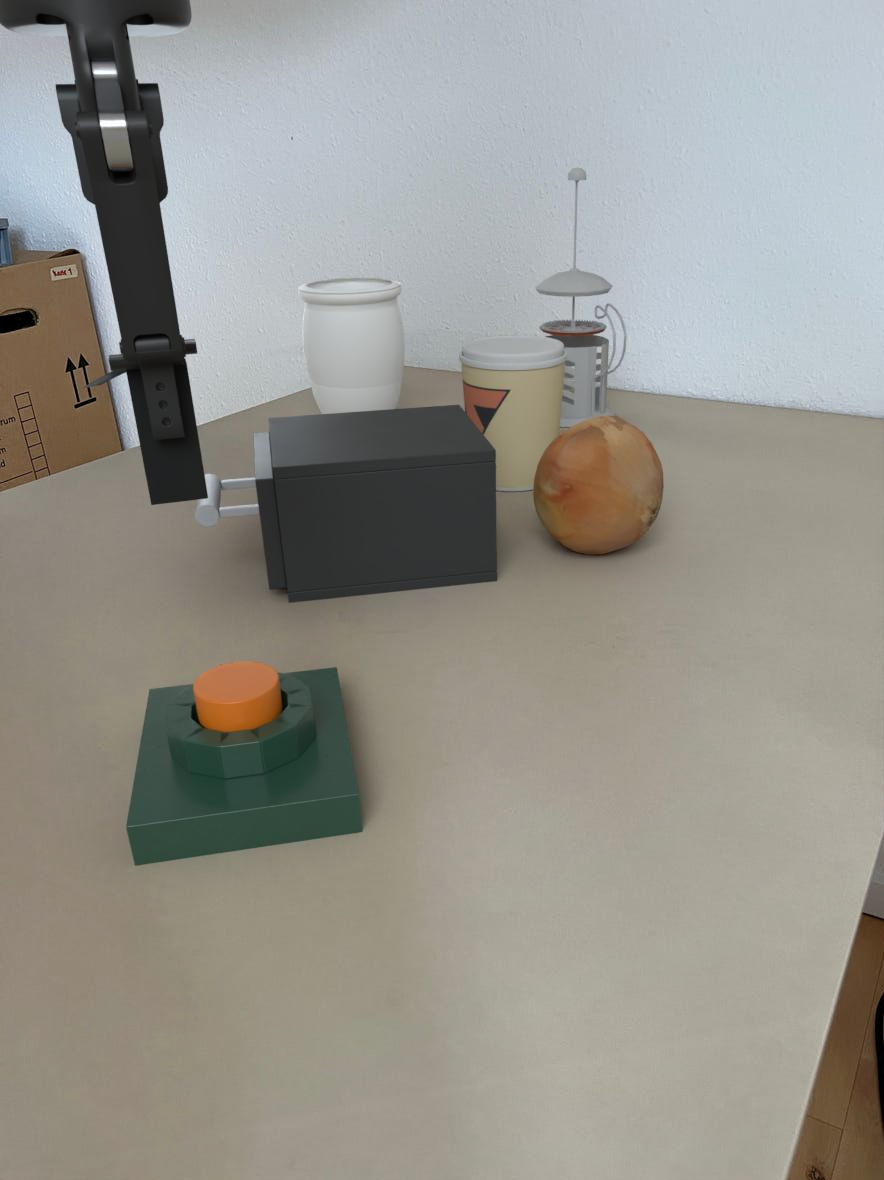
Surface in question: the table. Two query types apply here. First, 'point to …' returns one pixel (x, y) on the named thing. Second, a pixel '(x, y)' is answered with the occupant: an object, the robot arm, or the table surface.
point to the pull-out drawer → (251, 507)
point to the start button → (237, 696)
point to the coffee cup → (514, 400)
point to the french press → (581, 338)
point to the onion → (599, 485)
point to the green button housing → (243, 775)
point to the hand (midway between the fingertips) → (179, 496)
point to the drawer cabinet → (384, 501)
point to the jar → (353, 343)
